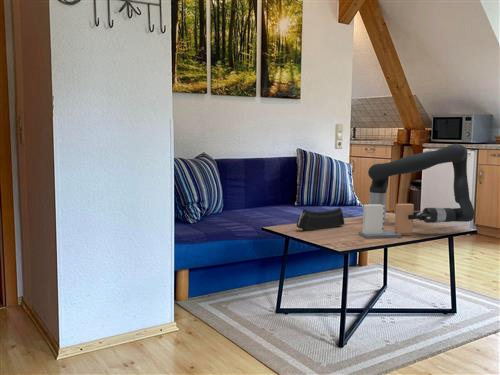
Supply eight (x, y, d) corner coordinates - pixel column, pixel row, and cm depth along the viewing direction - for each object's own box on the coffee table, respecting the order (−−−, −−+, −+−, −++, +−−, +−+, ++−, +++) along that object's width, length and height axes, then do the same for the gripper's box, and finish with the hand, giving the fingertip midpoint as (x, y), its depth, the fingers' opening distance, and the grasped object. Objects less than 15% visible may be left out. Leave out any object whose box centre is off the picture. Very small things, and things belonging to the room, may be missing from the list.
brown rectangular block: (394, 231, 250) (395, 203, 249) (409, 231, 252) (410, 203, 250) (397, 232, 247) (398, 204, 246) (412, 232, 249) (413, 204, 247)
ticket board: (358, 234, 251) (359, 203, 249) (392, 233, 254) (393, 202, 252) (366, 238, 241) (368, 206, 239) (401, 237, 244) (403, 205, 242)
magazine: (344, 209, 273) (303, 196, 256) (348, 210, 270) (307, 197, 253) (336, 239, 272) (294, 228, 255) (340, 240, 269) (298, 229, 253)
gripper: (427, 205, 258) (397, 205, 255) (442, 210, 244) (411, 210, 241) (426, 220, 259) (397, 220, 256) (441, 225, 245) (411, 225, 242)
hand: (404, 215), depth 249 cm, fingers open, 8 cm apart
